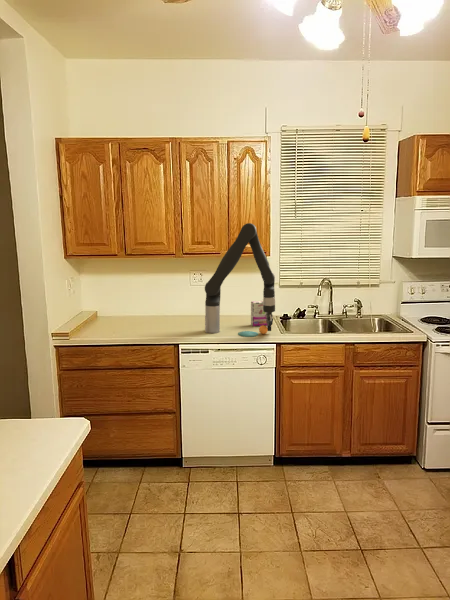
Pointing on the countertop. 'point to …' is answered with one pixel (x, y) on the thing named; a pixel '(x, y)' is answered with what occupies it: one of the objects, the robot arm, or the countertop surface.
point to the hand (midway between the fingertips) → (269, 330)
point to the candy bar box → (258, 314)
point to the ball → (263, 329)
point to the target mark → (248, 334)
